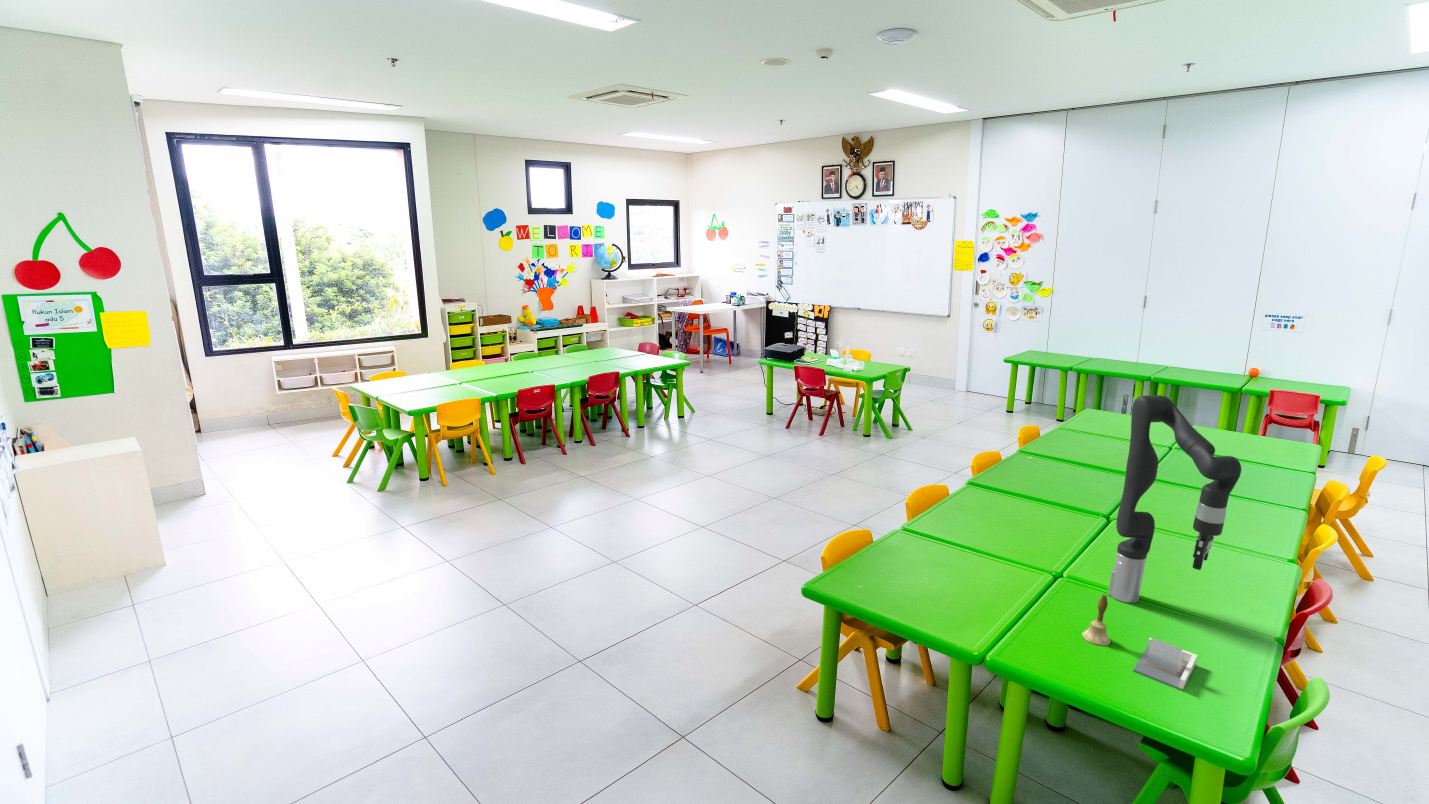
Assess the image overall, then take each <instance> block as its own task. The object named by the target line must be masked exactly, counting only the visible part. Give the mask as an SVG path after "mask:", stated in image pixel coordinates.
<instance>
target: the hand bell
mask: <svg viewBox="0 0 1429 804" xmlns="http://www.w3.org/2000/svg"><path fill="white" fill-rule="evenodd" d="M1108 604H1109V603H1108V595H1106V594H1102V595H1101V597H1100V599H1099V601H1098V604H1097V610H1098V613H1097V618H1096V619H1095V620H1092V621H1091V622H1090V625H1089V627H1088V628H1087V629H1086V630H1084V631H1083V632H1082V634H1081V635H1082V638H1083V639H1084V640H1085V641H1086V642H1088V643H1091V644H1093V645H1096V646H1102V647H1104V646H1109V645H1110V644H1111V639H1110V637H1109V636H1108V633H1107V625H1106V624H1105V623H1104V622H1103V620H1104V614H1105V612H1106V610H1107V608H1108Z"/></svg>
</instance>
